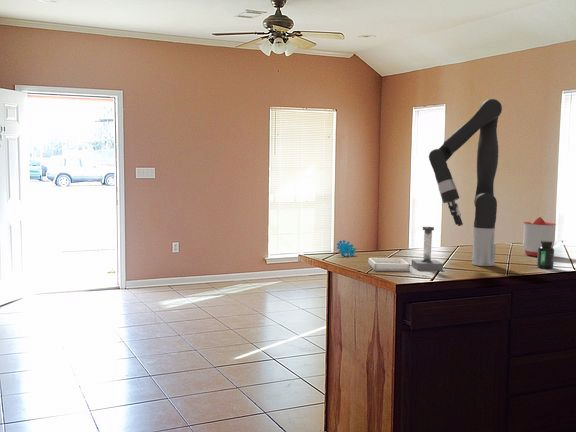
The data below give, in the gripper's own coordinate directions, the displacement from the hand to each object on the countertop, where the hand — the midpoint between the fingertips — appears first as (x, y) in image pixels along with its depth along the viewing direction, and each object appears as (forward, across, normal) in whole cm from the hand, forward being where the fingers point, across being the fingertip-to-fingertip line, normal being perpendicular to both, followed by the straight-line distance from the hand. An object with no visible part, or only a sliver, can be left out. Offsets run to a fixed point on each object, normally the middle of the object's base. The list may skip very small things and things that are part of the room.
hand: (459, 224), depth 278 cm
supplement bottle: (+28, +18, -28) cm, 44 cm away
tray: (+10, -18, +33) cm, 39 cm away
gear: (-2, +7, +57) cm, 57 cm away
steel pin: (+15, -11, +18) cm, 26 cm away
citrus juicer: (+21, +60, -27) cm, 69 cm away
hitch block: (+15, -11, +18) cm, 26 cm away
